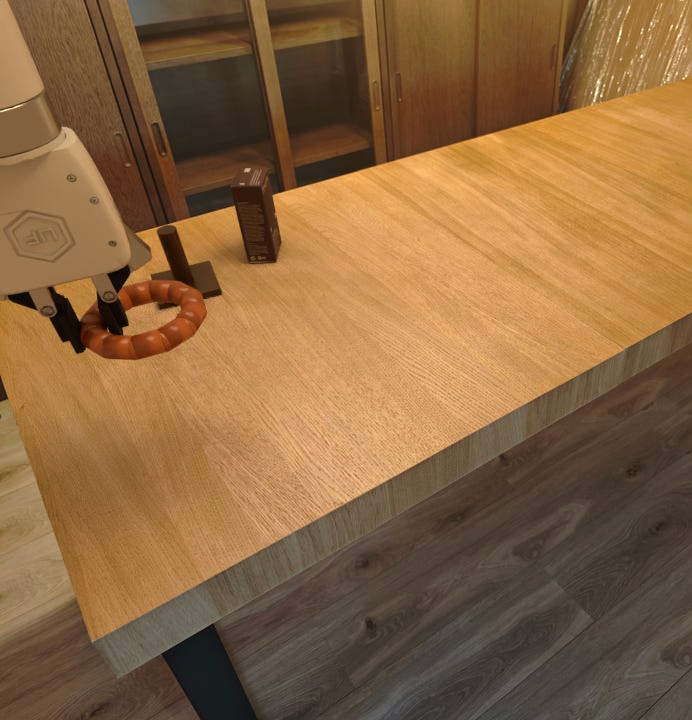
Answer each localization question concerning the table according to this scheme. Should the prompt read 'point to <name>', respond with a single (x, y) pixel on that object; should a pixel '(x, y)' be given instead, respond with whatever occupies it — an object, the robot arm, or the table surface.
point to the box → (256, 214)
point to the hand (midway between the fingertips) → (99, 337)
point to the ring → (152, 341)
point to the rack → (184, 267)
